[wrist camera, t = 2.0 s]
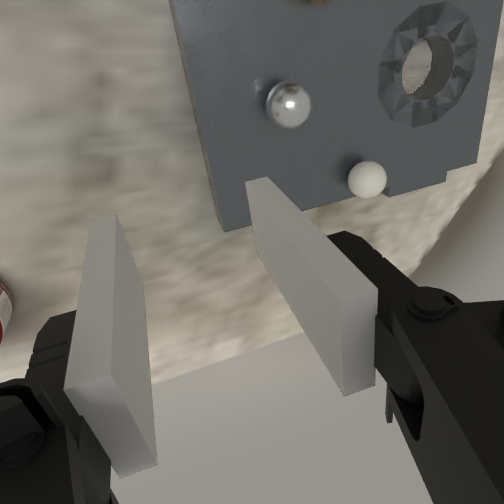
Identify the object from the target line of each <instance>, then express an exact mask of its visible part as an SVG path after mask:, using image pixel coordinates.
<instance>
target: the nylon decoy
mask: <svg viewBox="0 0 504 504" xmlns="http://www.w3.org/2000/svg"><path fill="white" fill-rule="evenodd" d="M386 181H387V176H386V172H385V170H384V168H383V167H382V166H381V165H380V164H378V163H376V162H374V161H363V162H360V163H358V164H356V165H355V166H354V167H353V168H352V169H351V171H350V173H349V176H348V186H349V188H350V190H351V192H352V193H353V194H354V195H356V196H357V197H360V198H365V199H368V198H373V197H375V196H377V195H379V194H380V193H381V192H382V191H383V189H384V188H385V185H386Z"/></svg>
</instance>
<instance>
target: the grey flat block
mask: <svg viewBox="0 0 504 504" xmlns="http://www.w3.org/2000/svg"><path fill="white" fill-rule="evenodd" d="M169 3H170V8H171V12H172V17H173V21H174V26H175V30H176V35H177V39H178V43H179V48H180V52H181V57H182V61H183V66H184V70H185V75H186V79H187V84H188V88H189V93H190V97H191V101H192V106H193V110H194V115H195V119H196V124H197V128H198V133H199V137H200V142H201V146H202V150H203V155H204V159H205V164H206V168H207V173H208V177H209V182H210V186H211V191H212V195H213V200H214V204H215V208H216V213H217V217H218V221H219V223H220V225H221V227H222V229H223V231H224V233H225V232H228V231H232V230H235V229H239V228H243V227H246V226H250V225H252V220H251V215H250V209H249V203H248V197H247V191H246V185H245V182H247V181H251V180H255V179H259V178H263V177H268V178H269V179H270V180H271V181H272V182H273V183H274V184H275V185H276V186H277V187H278V188H279V189H280V190H281V191H282V192H283V193H284V194H285V195H286V196H287V197H288V198H289V199H290V200H291V201H292V202H293V203H294V204H295V205H296V206H297V207H298V208H299V209H300V210H301V211H304V210H308V209H312V208H315V207H319V206H323V205H326V204H330V203H333V202H337V201H341V200H344V199H348V198H352V197H355V196H356V195H354V194H353V193H352V192H351V190H350V188H349V186H348V176H349V173H350V171H351V169H352V168H353V167H354V166H355V165H356V164H358V163H360V162H363V161H374V162H376V163H378V164H380V165H381V166H382V167H383V168H384V170H385V172H386V176H387V181H386V185H385V188H384V189H383V191H382V192H381V193H383V194H385V195H386V196H388V197H392V196H396V195H399V194H403V193H406V192H410V191H414V190H417V189H421V188H424V187H428V186H431V185H435V184H439V183H442V182H446V175H447V171H449V170H453V169H457V168H460V167H464V166H468V165H471V164H475V163H476V162H477V156H478V150H479V144H480V138H481V132H482V126H483V120H484V114H485V108H486V102H487V96H488V90H489V84H490V78H491V72H492V66H493V60H494V54H495V48H496V42H497V36H498V30H499V24H500V18H501V12H502V6H503V0H333V1H330V2H328V3H315V2H313V1H311V0H169ZM422 38H424V39H426V40H427V41H428V43H429V45H430V48H431V50H432V53H433V54H432V65H431V70H430V72H429V74H428V76H427V78H426V80H425V82H424V84H423V85H422V86H421V87H420V88H419V89H417V90H416V91H415V92H414V93H413V94H410V95H407V94H406V92H405V90H404V88H403V85H402V66H403V64H404V62H405V60H406V58H407V55H408V53H409V51H410V49H411V48H412V47H413V46H415V45H416V44H417V43H418V42H419V41H420V40H421V39H422ZM285 80H295V81H298V82H300V83H302V84H304V85H305V86H306V87H307V88H308V90H309V91H310V93H311V96H312V99H313V109H312V113H311V116H310V118H309V119H308V121H307V122H306V123H305V124H304V125H303V126H301V127H300V128H297V129H294V130H283V129H280V128H278V127H276V126H275V125H274V124H273V123H272V122H271V121H270V119H269V118H268V115H267V112H266V100H267V97H268V94H269V92H270V91H271V89H272V88H273V87H274V86H275V85H277V84H278V83H280V82H282V81H285Z"/></svg>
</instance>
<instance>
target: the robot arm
mask: <svg viewBox="0 0 504 504" xmlns="http://www.w3.org/2000/svg"><path fill="white" fill-rule="evenodd" d="M245 185H246V191H247V197H248V203H249V209H250V215H251V220H252V226H253V232H254V238H255V244H256V249H257V253H258V255H259V257H260V258H261V260H262V262H263V263H264V265H265V267H266V268H267V270H268V271H269V273H270V275H271V276H272V278H273V280H274V281H275V283H276V285H277V286H278V288H279V290H280V291H281V293H282V295H283V296H284V298H285V300H286V301H287V303H288V305H289V306H290V308H291V310H292V311H293V313H294V315H295V316H296V318H297V320H298V321H299V323H300V325H301V326H302V328H303V330H304V331H305V333H306V334H307V336H308V338H309V339H310V341H311V343H312V344H313V346H314V348H315V349H316V351H317V353H318V354H319V356H320V358H321V359H322V361H323V363H324V364H325V366H326V368H327V369H328V371H329V373H330V374H331V376H332V378H333V379H334V381H335V383H336V384H337V386H338V387H339V389H340V391H341V393H342V394H343V396H347V395H350V394H352V393H355V392H358V391H361V390H364V389H366V388H369V387H372V386H375V371H376V368H377V370H378V371H379V373H380V374H381V375H382V377H383V378H384V379H385V381H386V382H387V394H386V411H385V414H386V420H387V423H392V419H393V413H394V415H395V417H396V419H397V422H398V424H399V426H400V429H401V431H402V433H403V435H404V438H405V440H406V442H407V444H408V447H409V449H410V451H411V454H412V456H413V458H414V460H415V463H416V465H417V467H418V469H419V472H420V474H421V476H422V479H423V481H424V483H425V485H426V488H427V490H428V492H429V494H430V496H431V499H432V501H433V504H504V300H500V301H486V302H472V303H463V302H462V301H461V300H459V299H458V298H457V297H456V296H455V295H453V294H451V293H449V292H446V291H444V290H442V289H438V288H432V287H418V286H417V285H416V284H414V283H413V282H412V281H411V280H410V279H409V278H408V277H406V276H405V275H404V274H403V273H402V272H401V271H400V270H398V269H397V268H396V267H395V266H394V265H393V264H391V263H390V262H389V261H388V260H387V259H386V258H385V257H384V258H383V257H382V255H381V254H380V253H379V252H378V251H377V250H375V249H373V247H372V246H371V245H370V244H368V243H367V242H366V241H365V240H364V239H363V238H362V237H359V236H357V235H354V234H352V233H349V232H347V231H342V232H338V233H335V234H331V235H328V236H325V235H324V234H323V233H322V232H321V231H320V230H319V229H318V228H317V227H316V226H315V225H314V224H313V223H312V221H311V220H310V219H309V218H308V217H307V216H306V215H305V214H304V213H303V212H302V211H301V210H300V209H299V208H298V207H297V206H296V205H295V204H294V203H293V202H292V201H291V200H290V199H289V198H288V197H287V196H286V195H285V194H284V193H283V192H282V191H281V190H280V189H279V188H278V187H277V186H276V185H275V184H274V183H273V182H272V181H271V180H270V179H269V178H268V177H263V178H259V179H255V180H251V181H247V182H245ZM156 465H157V452H156V439H155V427H154V414H153V402H152V389H151V376H150V363H149V351H148V338H147V326H146V313H145V300H144V288H143V283H142V281H141V278H140V275H139V273H138V270H137V267H136V265H135V262H134V259H133V257H132V254H131V252H130V249H129V246H128V244H127V241H126V238H125V236H124V233H123V231H122V228H121V225H120V223H119V220H118V217H117V215H114V216H110V217H106V218H103V219H99V220H95V221H91V227H90V233H89V239H88V245H87V251H86V257H85V263H84V269H83V275H82V281H81V287H80V293H79V299H78V305H77V310H74V311H71V312H67V313H64V314H61V315H57V316H54V317H50V318H49V320H48V321H47V322H46V324H45V325H44V326H43V328H42V329H41V330H40V331H39V333H38V334H37V337H36V341H35V344H34V348H33V354H32V355H31V358H30V362H29V369H27V372H26V376H25V378H19V379H12V380H9V381H6V382H3V383H0V504H119V503H118V501H117V499H116V497H115V495H114V493H113V492H112V490H111V489H110V474H111V466H112V467H113V469H114V470H115V472H116V474H117V475H118V477H119V478H123V477H126V476H129V475H131V474H134V473H137V472H140V471H142V470H145V469H148V468H151V467H153V466H156Z"/></svg>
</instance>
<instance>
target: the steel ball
mask: <svg viewBox="0 0 504 504" xmlns="http://www.w3.org/2000/svg"><path fill="white" fill-rule="evenodd" d="M312 109H313V99H312V96H311V93H310V91H309V90H308V88H307V87H306V86H305V85H304V84H302V83H300V82H298V81H295V80H285V81H282V82H280V83H278V84H277V85H275V86H274V87H273V88H272V89H271V91H270V92H269V94H268V97H267V100H266V112H267V115H268V118H269V119H270V121H271V122H272V123H273V124H274V125H275V126H276V127H278V128H280V129H283V130H294V129H297V128H300V127H301V126H303V125H304V124H305V123H306V122H307V121H308V119H309V118H310V116H311V113H312Z"/></svg>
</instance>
